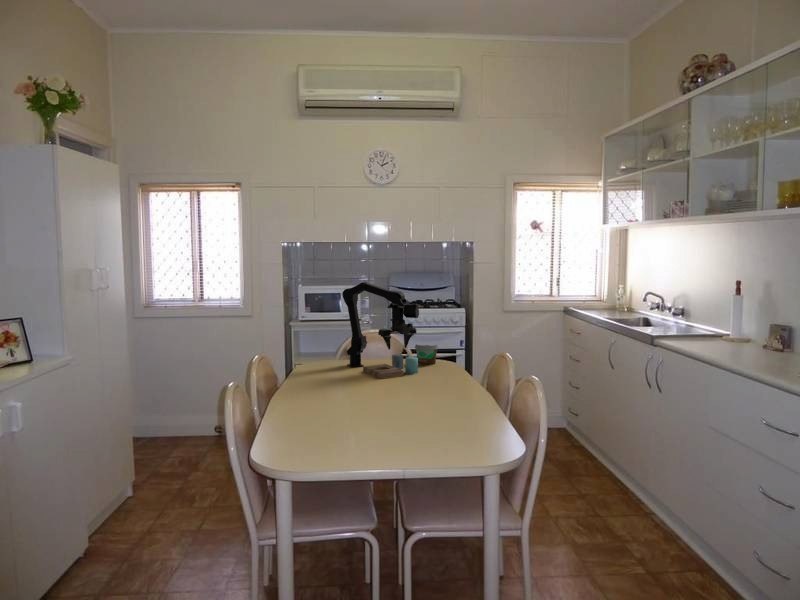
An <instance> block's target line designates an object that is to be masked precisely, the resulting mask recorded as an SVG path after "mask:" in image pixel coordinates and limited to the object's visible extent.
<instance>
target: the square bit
mask: <svg viewBox="0 0 800 600" xmlns="http://www.w3.org/2000/svg"><path fill="white" fill-rule="evenodd" d="M391 357H392V358H391V366H392V367H395V368H398V369H400V370H401V369H403V370H404V355H403V354H400V353H397V354H392V355H391Z"/></svg>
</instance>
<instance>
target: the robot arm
mask: <svg viewBox="0 0 800 600" xmlns="http://www.w3.org/2000/svg"><path fill="white" fill-rule="evenodd" d="M364 292H367V293H370V294H372V295H376V296H379V297H382V298H383V299H385V300H387V301H388V302H390V304H389V305H388V306H387V309H391V318H390V322H391V326H390V329H389V328H380V329H379V330H378V332H377V333H378V335H379V336H380V337H382V338H383V341H384V342H385V345H386V347H387V349H388V350H391V338H392V336H391V335H393V334H400V335H403V345H404V348H405V349H407V347H408V345H409V341H410V340H411V338H412V337H413V336H415V334H417V328H416V327H414V326H413V323H411V322H410V323H406V320H405V319H404V317H405V318H406V319H407V318H409V319H418V318H419V315H420V309H419V305H418V303H413V304H411V303H409V301H407V299H406V297H405V293H404V292H403V291H400V290H390V289H386V288H383V287H381V286H377V285H375V284H371V283H368V282H366V281H362V282H360V283H358V284H357V285H354V286H352V287H350V288H345V289H344V290H343V291H342V292H341V293H342V294H341V295H342V298H343V302H344V303H345V305H346V307H347V311H348V316H349V317H348V318H349V321H350V329H351V339H350V347H349V348H348V349H347V350H346V354H347V356H349V363H347V365H346V366H348V367H350V368H358V367H363V366H365V365H364V364H362V353H363V352H364V350H365V349H366V348H367V344H368V341H367V335H363V333H362V329H361V323H360V317H359V311H358V301H359V295H360V294H361V293H364Z"/></svg>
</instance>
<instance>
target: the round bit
mask: <svg viewBox="0 0 800 600" xmlns="http://www.w3.org/2000/svg"><path fill="white" fill-rule="evenodd" d="M404 359H405V361H404V362H405V364H404V365H405V369H404V370H405V371H404V372H405V374H407V373H408V374H407V375H415V373H416V374H418V373H419V364H418V358H417V356H416V357H415V356H408V357H407V356H406V357H405V358H404Z"/></svg>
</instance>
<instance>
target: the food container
mask: <svg viewBox="0 0 800 600" xmlns="http://www.w3.org/2000/svg"><path fill="white" fill-rule="evenodd" d="M414 349H415V351H416V357H417V358H418V365H423V366H433V365H436V362H437V361H436V360H437V352H438V349H439V345H438V344H435V345H429V344H423V345H421V344H418V343H415V346H414Z"/></svg>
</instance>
